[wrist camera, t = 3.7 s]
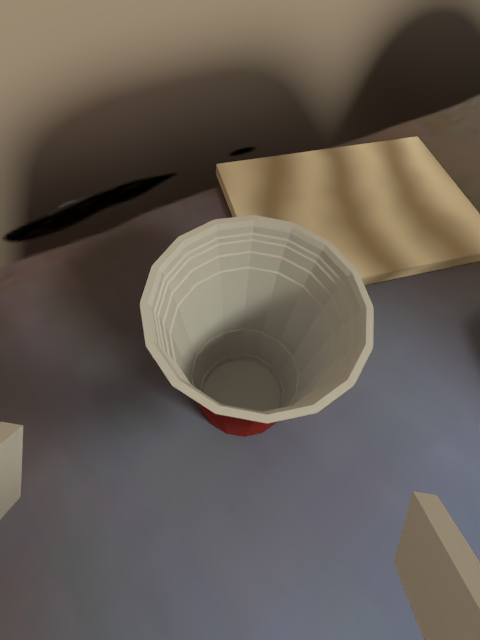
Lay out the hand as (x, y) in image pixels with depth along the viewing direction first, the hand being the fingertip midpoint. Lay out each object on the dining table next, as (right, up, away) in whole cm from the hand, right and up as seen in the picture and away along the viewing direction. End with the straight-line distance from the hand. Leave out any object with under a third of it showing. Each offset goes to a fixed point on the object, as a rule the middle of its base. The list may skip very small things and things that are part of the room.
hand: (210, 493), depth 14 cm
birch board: (+11, +16, +25) cm, 32 cm away
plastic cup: (+1, 0, +15) cm, 15 cm away
